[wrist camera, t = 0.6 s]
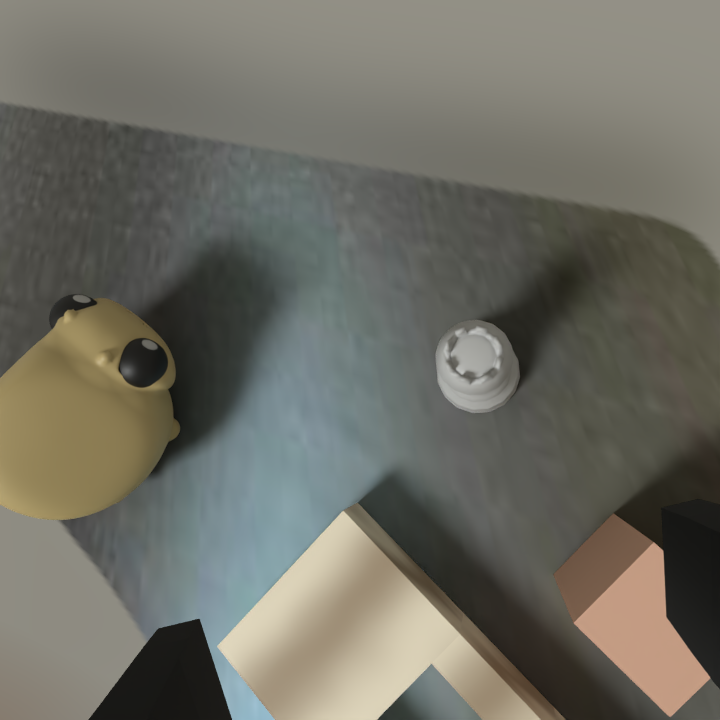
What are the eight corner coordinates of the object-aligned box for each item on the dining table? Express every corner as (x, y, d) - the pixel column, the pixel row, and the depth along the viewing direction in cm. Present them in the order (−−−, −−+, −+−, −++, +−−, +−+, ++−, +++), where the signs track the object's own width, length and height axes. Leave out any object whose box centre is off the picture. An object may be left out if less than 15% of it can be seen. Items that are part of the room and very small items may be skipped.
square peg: (687, 579, 26) (756, 633, 19) (624, 642, 26) (669, 717, 20) (613, 513, 27) (653, 542, 20) (553, 574, 27) (573, 622, 21)
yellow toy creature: (251, 378, 33) (142, 357, 23) (142, 534, 33) (-14, 583, 23) (144, 293, 35) (2, 239, 25) (44, 439, 36) (-135, 445, 26)
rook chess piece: (462, 319, 30) (452, 282, 22) (535, 357, 29) (550, 332, 21) (423, 387, 30) (399, 374, 22) (493, 428, 29) (494, 429, 21)
